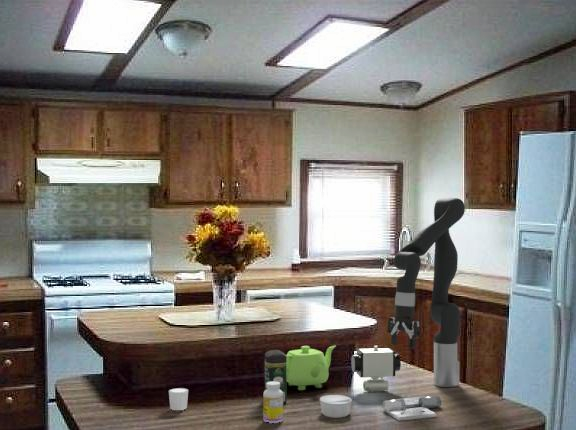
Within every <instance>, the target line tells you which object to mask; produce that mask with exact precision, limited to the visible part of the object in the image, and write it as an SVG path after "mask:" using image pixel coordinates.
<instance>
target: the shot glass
mask: <svg viewBox="0 0 576 430" xmlns="http://www.w3.org/2000/svg"><path fill="white" fill-rule="evenodd" d="M168 396H169V397H168V399H169V409H172V410H184V409H186V408H187V407H188V400H189V399H188V397H189V389H187V388H184V387H178V388H172V389H169V390H168ZM187 409H188V408H187Z"/></svg>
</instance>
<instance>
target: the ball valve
mask: <svg viewBox="0 0 576 430" xmlns="http://www.w3.org/2000/svg"><path fill="white" fill-rule="evenodd" d="M401 363H402V362H401V356H400V354H399V352H398V353H397V352H396V351H395V350H393V349H392V348H390V347H389V348H386V347H385V348H379V345H373V348H356V352H355V354H352V355H351V370H352V372H353V373H356V374H357V375H358V376H359V377H360V378H369V379H367V380H363V383H362V387H363V391H364V392H368V393H375V392H376V393H377V392H378V393H382V392H386V391H388V390H389V381H388V380H386V379H384V378H386V377H387V378H389V377H393V378H394V377H396V373H397V372H399V371H400V370H401V367H402V366H401V365H402V364H401Z"/></svg>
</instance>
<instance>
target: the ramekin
mask: <svg viewBox="0 0 576 430" xmlns="http://www.w3.org/2000/svg"><path fill="white" fill-rule="evenodd" d="M352 402H353V400H352V398H351V397H349V396H347V395H342V394H329V395H323V396H321V397H320V398H319V403H320V408H321V409H320V410H321V413H322V415H323V416H324V417H328V418H334V419H335V418H336V419H340V418H345V417H347V416H348V415H349V414H350V413H351V408H352V407H351V406H352Z"/></svg>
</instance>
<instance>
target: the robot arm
mask: <svg viewBox="0 0 576 430" xmlns="http://www.w3.org/2000/svg"><path fill="white" fill-rule="evenodd" d="M433 207H434V208H433V221H434V222H432V223H430V225H427V226H426V227H424V228H423V229H422V230H420V231H419V232H418V233H417V235H416V236H415V237H414V238H413V239H412V240H411V241H410V242H409V243H407V244H406V245H405V246H404V247H402V248H401V249H400V250H398V251H397V253H396V254H395V255H394V258H393V265H394V267H395V268H396V269H397V270H400V271H405V273H404V275H403V276H399V277H398V278H397V280H396V290H395V291H396V292H395V298H394V300H395V301H394V316H395V317H394V316H393V317H391V316H390V317H388V320H387V330H386V332H387V333H389V334H390V336H391V340H390V342H391V345H392V346H397V345H398V333H399V332H400V331H403V332H405V333H406V334H408V337H409V338H408V339H409V340H408V341H409V343H408V348H409V349H411V350H413V349H415V347H416V339H417V338H421V321H414V317H415V310H416V309H415V307H416V282H417V279H418V276H419V272H420V270H421V265H422V260H421V257H423V256H424V255H425V254H426V253H428V251H429V250H430V249H431V247H432V246H433V245H434V259H433V284H432V294H431V301H430V306H429V307H430V308H429V309H430V310H429V312H430V313H429V314H430V315H429V316H430V319H431V320H432V321H433V323H436V324H438V325H440V328H439V329H440V330H439V332H437V333H435V334H434V336H433V384H434V385H435V386H436V387H439V388H440V387H443V388H454V387H457V386H460V361H459V360H458V339H459V336H460V330H461V328H460V327H461V311H460V309H459V307H458V305H457V304H455V303H452V302H449V289H450V287H451V284H452V282H453V281H454V279H455V277H456V274H457V271H458V260H459V259H458V256H459V254H458V251H457V247H456V246H455V244H454V241H453V239H452V236H451V234H450V229H451V227H454V225H455V224H456V223H458V222H459V221H460V220H461V219H462V218H463V216H464V214H465V211H466V206H465V203H464V201H462V199H461V198H457V197H442V198H441V197H440V198H438V199H437V200H436V201H435V203H434V206H433Z"/></svg>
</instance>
